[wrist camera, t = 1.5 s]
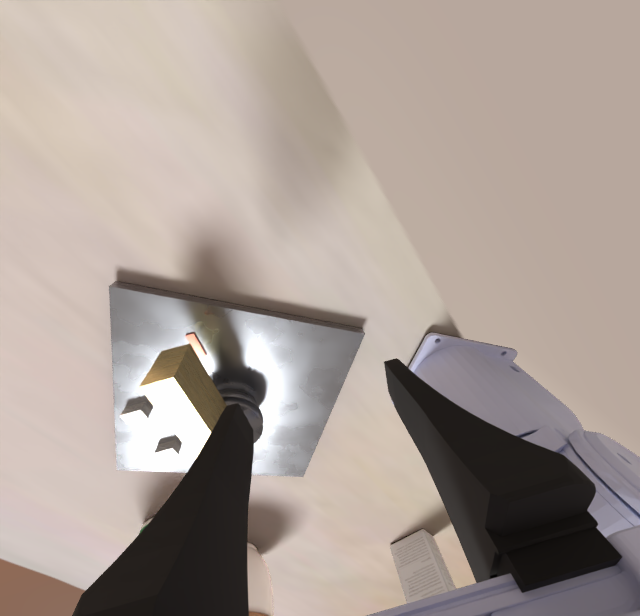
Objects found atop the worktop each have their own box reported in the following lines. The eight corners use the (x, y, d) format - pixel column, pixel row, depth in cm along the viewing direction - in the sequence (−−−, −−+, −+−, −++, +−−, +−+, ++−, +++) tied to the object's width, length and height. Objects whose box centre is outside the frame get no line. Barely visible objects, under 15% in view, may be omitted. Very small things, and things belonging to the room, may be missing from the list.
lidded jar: (289, 536, 35) (292, 649, 27) (254, 573, 39) (248, 683, 30) (206, 526, 31) (181, 655, 23) (177, 569, 35) (146, 693, 27)
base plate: (361, 328, 21) (369, 343, 19) (302, 469, 29) (304, 490, 27) (116, 281, 17) (96, 295, 15) (121, 461, 24) (108, 485, 22)
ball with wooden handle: (272, 432, 22) (271, 479, 19) (211, 449, 22) (199, 500, 19) (220, 328, 17) (205, 368, 14) (139, 350, 17) (106, 395, 14)
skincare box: (401, 552, 42) (442, 680, 32) (388, 544, 40) (427, 677, 30) (435, 535, 41) (489, 662, 31) (423, 527, 39) (477, 659, 29)
